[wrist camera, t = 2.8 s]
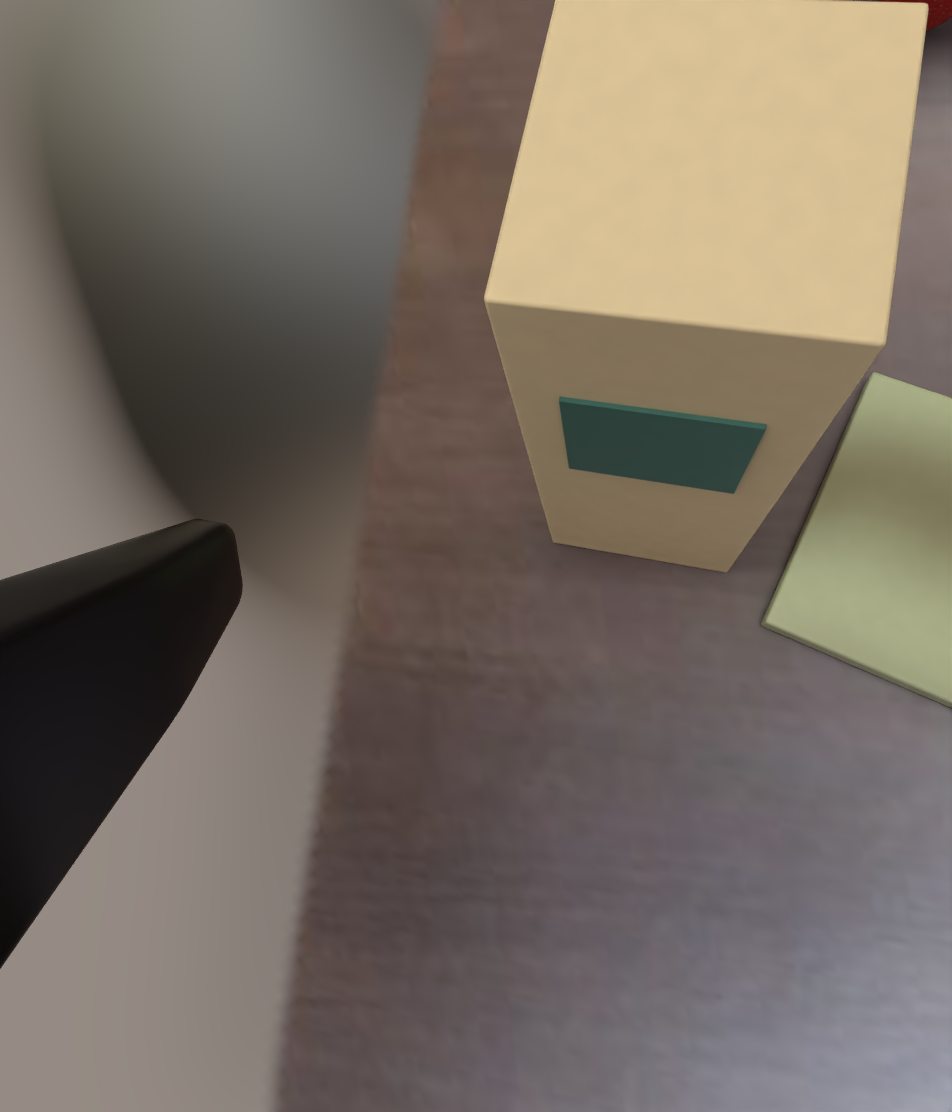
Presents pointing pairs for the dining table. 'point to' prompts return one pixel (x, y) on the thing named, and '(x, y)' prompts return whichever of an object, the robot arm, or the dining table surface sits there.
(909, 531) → the block line
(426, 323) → the dining table surface
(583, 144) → the tall cream block
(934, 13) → the strawberry
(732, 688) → the dining table surface
